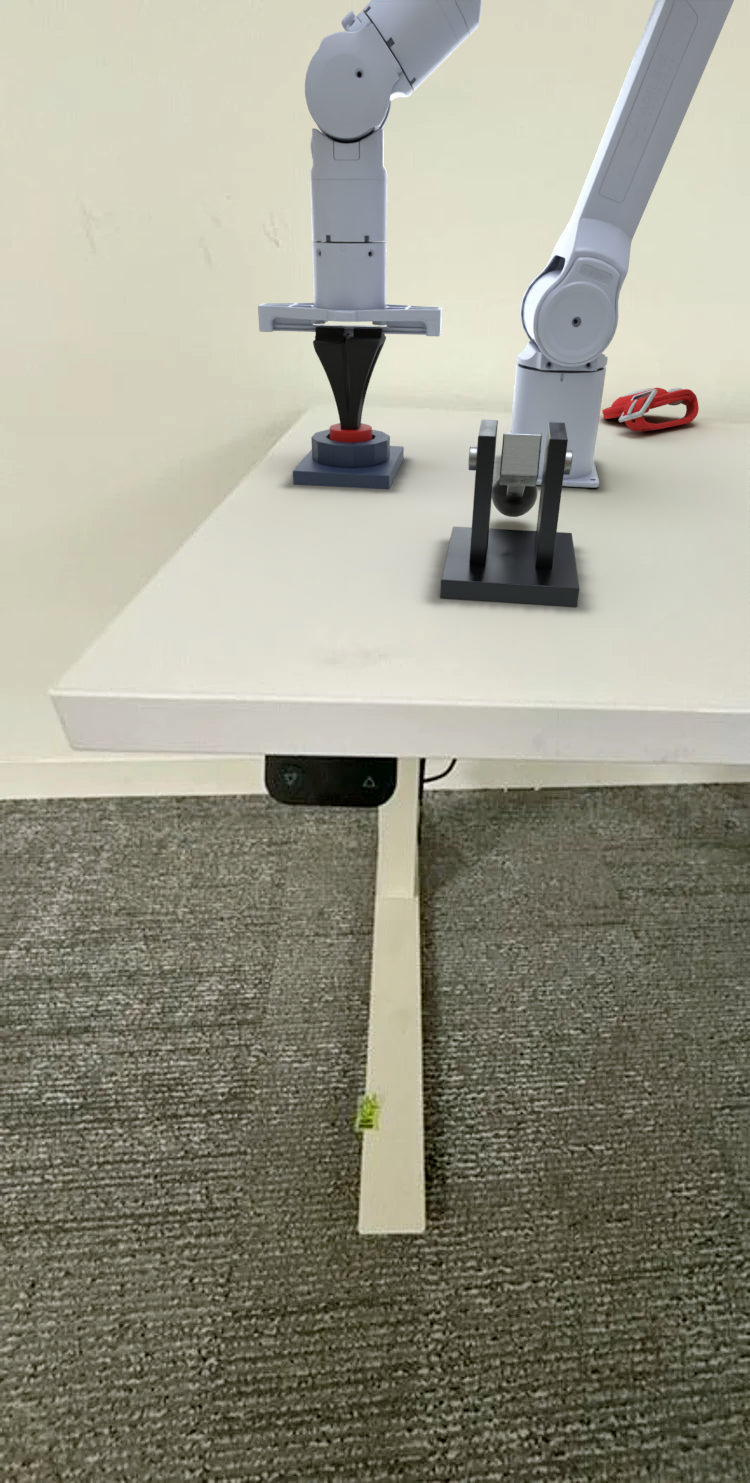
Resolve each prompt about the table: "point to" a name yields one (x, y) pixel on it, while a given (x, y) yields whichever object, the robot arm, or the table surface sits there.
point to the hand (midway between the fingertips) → (350, 427)
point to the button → (351, 433)
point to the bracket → (514, 537)
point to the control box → (350, 462)
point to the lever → (517, 474)
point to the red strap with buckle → (651, 407)
